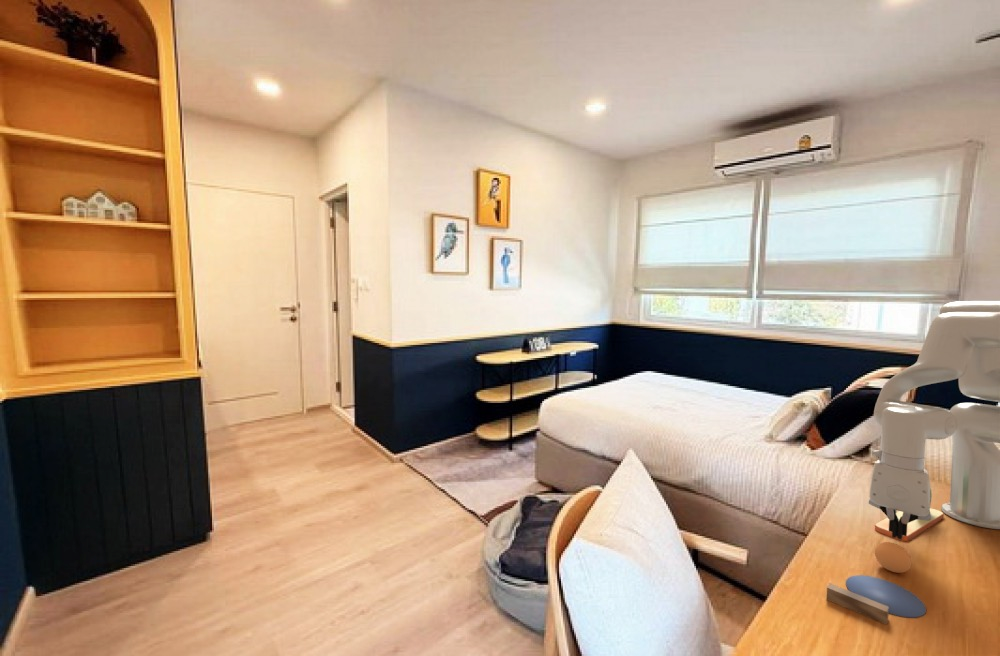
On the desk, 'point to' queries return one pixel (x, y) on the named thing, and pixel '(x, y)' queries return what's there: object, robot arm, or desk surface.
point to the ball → (893, 557)
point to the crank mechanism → (910, 524)
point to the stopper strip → (858, 603)
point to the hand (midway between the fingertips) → (897, 536)
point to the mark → (887, 595)
